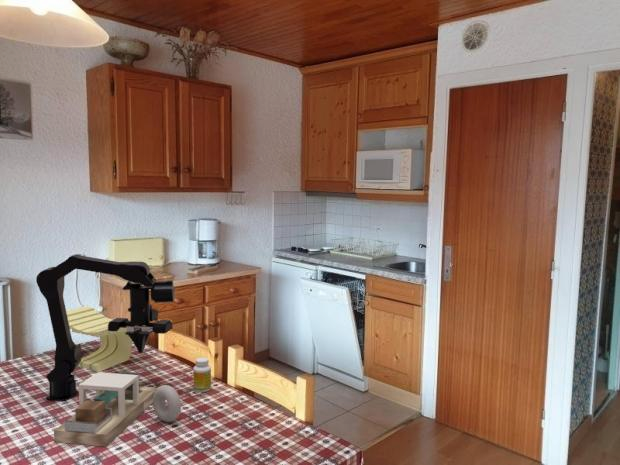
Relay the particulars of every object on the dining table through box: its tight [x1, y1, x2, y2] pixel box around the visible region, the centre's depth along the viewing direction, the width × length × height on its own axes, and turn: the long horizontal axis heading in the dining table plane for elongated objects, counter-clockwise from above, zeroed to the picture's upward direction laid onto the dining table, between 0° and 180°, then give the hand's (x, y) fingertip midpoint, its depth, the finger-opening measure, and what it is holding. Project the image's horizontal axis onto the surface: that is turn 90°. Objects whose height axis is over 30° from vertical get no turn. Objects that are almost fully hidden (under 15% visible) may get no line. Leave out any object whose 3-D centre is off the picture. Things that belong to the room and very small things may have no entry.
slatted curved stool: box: [66, 305, 146, 372], centre depth 179 cm, size 30×16×18 cm, turn 63°
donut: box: [152, 384, 182, 423], centre depth 134 cm, size 10×3×10 cm, turn 55°
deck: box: [53, 385, 158, 448], centre depth 136 cm, size 14×29×3 cm, turn 172°
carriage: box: [63, 371, 140, 433], centre depth 134 cm, size 8×25×6 cm, turn 172°
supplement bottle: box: [193, 357, 212, 393], centre depth 156 cm, size 5×5×10 cm
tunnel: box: [78, 371, 140, 417], centre depth 135 cm, size 12×9×8 cm
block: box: [74, 399, 105, 424], centre depth 126 cm, size 5×5×5 cm
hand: (141, 352), depth 153 cm, fingers closed
